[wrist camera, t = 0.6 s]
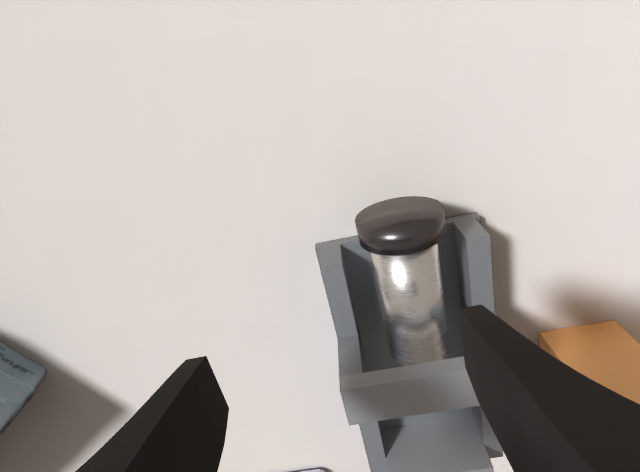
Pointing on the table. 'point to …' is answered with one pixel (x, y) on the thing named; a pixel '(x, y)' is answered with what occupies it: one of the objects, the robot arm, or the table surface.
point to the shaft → (408, 274)
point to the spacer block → (598, 355)
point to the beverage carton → (16, 383)
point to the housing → (419, 379)
